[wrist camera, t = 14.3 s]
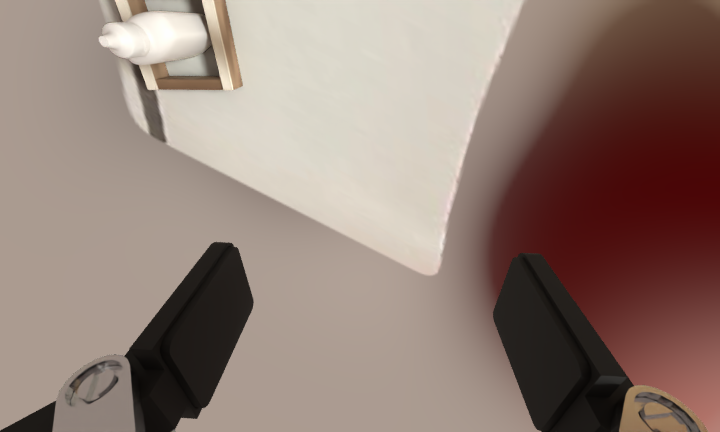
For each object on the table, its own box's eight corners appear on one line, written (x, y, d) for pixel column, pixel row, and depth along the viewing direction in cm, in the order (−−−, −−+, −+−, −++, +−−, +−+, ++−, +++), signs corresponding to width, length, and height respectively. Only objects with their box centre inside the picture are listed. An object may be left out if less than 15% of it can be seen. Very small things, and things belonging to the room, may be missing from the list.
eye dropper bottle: (160, 9, 30) (51, 1, 20) (214, 14, 30) (131, 8, 20) (171, 57, 33) (78, 70, 23) (221, 62, 33) (150, 77, 23)
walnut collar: (128, -18, 29) (106, -22, 27) (221, -19, 29) (207, -23, 26) (163, 85, 34) (148, 89, 32) (242, 85, 34) (232, 90, 32)
